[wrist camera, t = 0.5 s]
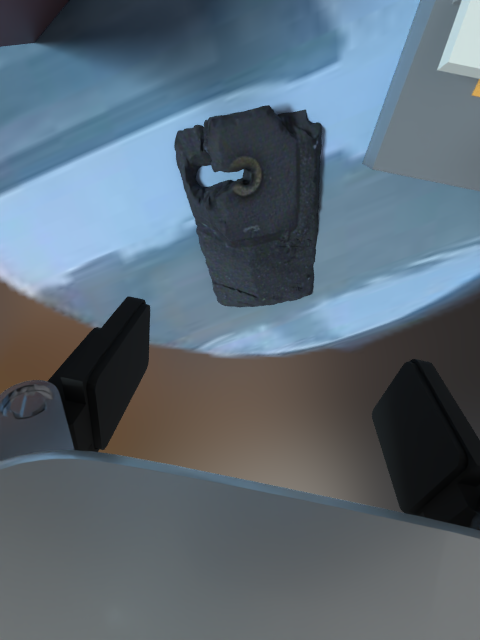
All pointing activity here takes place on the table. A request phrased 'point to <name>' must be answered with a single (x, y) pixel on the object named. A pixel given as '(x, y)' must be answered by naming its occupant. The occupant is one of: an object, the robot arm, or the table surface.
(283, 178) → the dark slate chunk
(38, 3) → the bucket
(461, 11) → the rocker
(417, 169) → the switch box
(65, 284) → the table surface
